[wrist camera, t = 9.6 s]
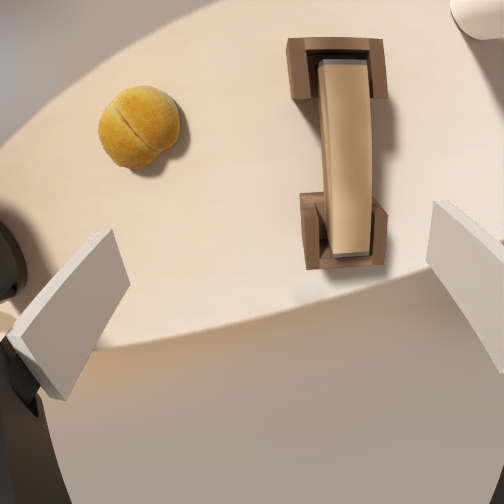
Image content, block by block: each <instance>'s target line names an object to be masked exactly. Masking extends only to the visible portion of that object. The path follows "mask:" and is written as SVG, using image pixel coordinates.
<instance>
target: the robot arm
mask: <svg viewBox="0 0 504 504" xmlns="http://www.w3.org/2000/svg"><path fill="white" fill-rule="evenodd" d="M426 262H427V263H428V264H429V266H430V267H431V268H432V270H433V271H434V272H435V274H436V275H437V276H438V278H439V279H440V280H441V282H442V283H443V285H444V286H445V287H446V289H447V290H448V291H449V293H450V294H451V296H452V297H453V299H454V300H455V301H456V303H457V305H458V306H459V307H460V309H461V310H462V312H463V313H464V315H465V316H466V318H467V320H468V321H469V323H470V324H471V326H472V327H473V329H474V331H475V332H476V333H477V335H478V337H479V338H480V340H481V342H482V343H483V345H484V347H485V348H486V350H487V352H488V354H489V355H490V357H491V359H492V360H493V362H494V364H495V366H496V367H497V369H498V371H499V373H500V374H502V373H504V246H503V245H502V244H501V243H500V242H499V241H498V240H497V239H495V238H494V237H493V236H492V235H491V234H490V233H489V232H487V231H486V230H485V229H484V228H483V227H482V226H480V225H479V224H478V223H477V222H476V221H474V220H473V219H472V218H471V217H469V216H468V215H467V214H466V213H464V212H463V211H462V210H461V209H459V208H458V207H457V206H455V205H454V204H453V203H452V202H450V201H449V200H441V201H433V211H432V220H431V228H430V236H429V243H428V249H427V255H426ZM26 280H27V271H26V265H25V261H24V258H23V255H22V253H21V250H20V248H19V246H18V244H17V243H16V241H15V239H14V238H13V236H12V235H11V233H10V232H9V231H8V229H7V228H6V227H5V226H4V225H3V224H2V223H1V222H0V304H2V303H4V302H6V301H8V300H10V299H13V298H14V297H16V296H17V295H18V294H19V293H20V292H21V291H22V290H23V288H24V287H25V285H26ZM129 286H130V281H129V278H128V276H127V273H126V270H125V267H124V264H123V261H122V258H121V255H120V252H119V249H118V246H117V243H116V240H115V237H114V234H113V230H112V229H107V230H100V231H97V232H96V233H95V234H94V235H93V236H92V237H91V238H90V239H89V240H88V241H87V242H86V243H85V244H84V245H83V246H82V247H81V248H80V249H79V250H78V251H77V252H76V253H75V254H74V255H73V256H72V257H71V258H70V259H69V260H68V261H67V263H66V264H65V265H64V266H63V267H62V268H61V269H60V270H59V271H58V272H57V273H56V274H55V276H54V277H53V278H52V279H51V280H50V281H49V282H48V283H47V285H46V286H45V287H44V288H43V289H42V290H41V291H40V293H39V294H38V295H37V296H36V297H35V298H34V300H33V301H32V302H31V303H30V304H29V306H28V307H27V308H26V309H25V310H24V312H23V313H22V314H21V315H20V316H19V318H18V319H17V320H16V321H15V323H14V324H13V325H12V327H11V328H10V329H9V330H8V332H7V333H6V334H5V337H4V338H3V339H2V341H1V342H0V504H72V503H71V500H70V497H69V495H68V492H67V489H66V486H65V484H64V481H63V478H62V475H61V472H60V469H59V466H58V462H57V459H56V456H55V453H54V449H53V445H52V442H51V438H50V434H49V430H48V426H47V421H46V417H45V412H44V408H43V403H42V399H41V397H40V396H39V394H38V393H37V391H38V389H39V388H40V386H41V387H42V388H43V389H44V391H45V392H46V393H47V395H48V396H49V397H50V398H54V399H58V400H63V401H67V399H68V397H69V395H70V393H71V390H72V389H73V387H74V385H75V382H76V381H77V379H78V377H79V375H80V373H81V371H82V369H83V367H84V365H85V363H86V361H87V359H88V358H89V356H90V354H91V352H92V350H93V348H94V347H95V345H96V343H97V341H98V339H99V337H100V336H101V334H102V332H103V330H104V328H105V327H106V325H107V323H108V321H109V320H110V318H111V316H112V314H113V313H114V311H115V309H116V308H117V306H118V304H119V302H120V301H121V299H122V297H123V296H124V294H125V292H126V291H127V289H128V287H129ZM490 504H504V466H503V469H502V472H501V475H500V478H499V481H498V484H497V486H496V489H495V491H494V494H493V496H492V499H491V501H490Z"/></svg>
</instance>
